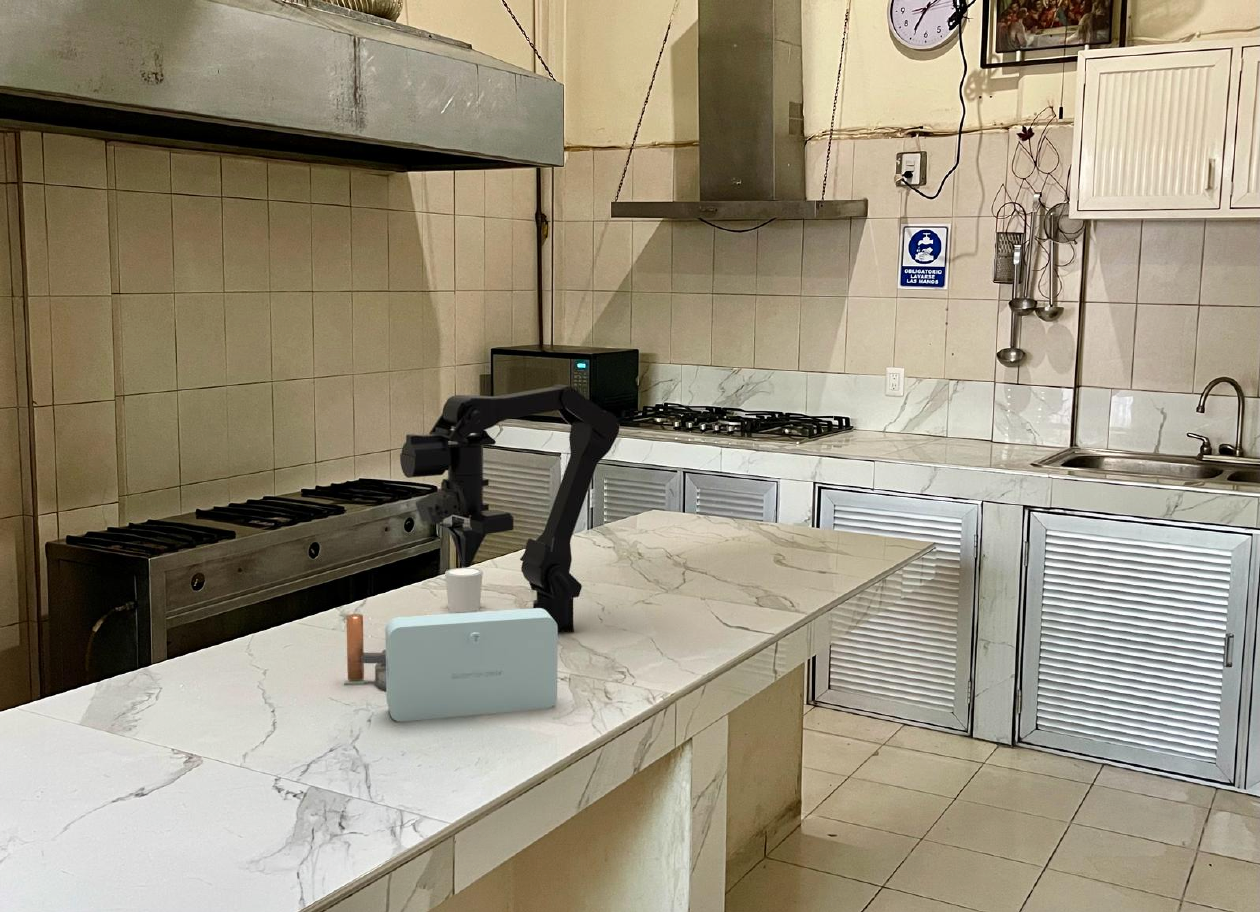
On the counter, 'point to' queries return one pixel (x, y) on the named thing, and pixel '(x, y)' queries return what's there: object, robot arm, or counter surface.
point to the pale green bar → (354, 682)
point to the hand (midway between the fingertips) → (466, 566)
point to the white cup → (464, 589)
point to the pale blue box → (470, 663)
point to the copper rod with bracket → (359, 649)
